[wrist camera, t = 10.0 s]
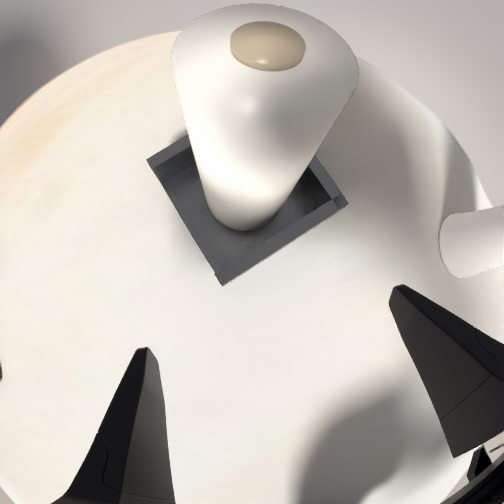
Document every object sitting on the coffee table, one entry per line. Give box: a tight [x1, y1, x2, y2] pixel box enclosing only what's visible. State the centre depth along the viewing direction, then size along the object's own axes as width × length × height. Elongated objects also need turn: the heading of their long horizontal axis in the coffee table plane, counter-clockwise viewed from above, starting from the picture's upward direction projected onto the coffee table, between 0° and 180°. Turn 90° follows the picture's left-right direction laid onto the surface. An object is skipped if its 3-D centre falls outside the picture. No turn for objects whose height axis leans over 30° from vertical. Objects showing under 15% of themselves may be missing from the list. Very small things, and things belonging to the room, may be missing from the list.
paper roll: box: [170, 4, 359, 231], centre depth 12 cm, size 5×5×13 cm
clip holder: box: [147, 135, 348, 286], centre depth 18 cm, size 9×9×4 cm
